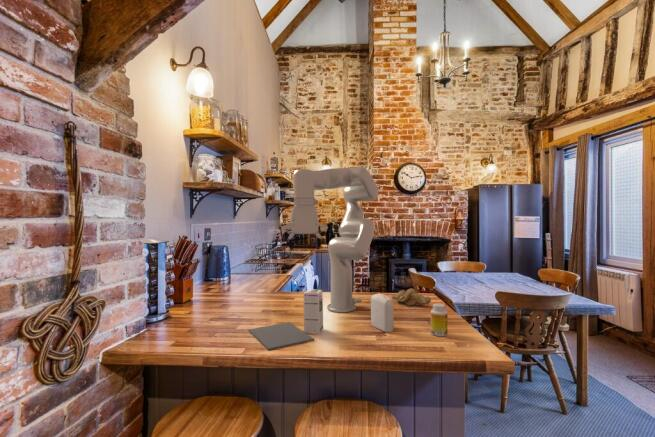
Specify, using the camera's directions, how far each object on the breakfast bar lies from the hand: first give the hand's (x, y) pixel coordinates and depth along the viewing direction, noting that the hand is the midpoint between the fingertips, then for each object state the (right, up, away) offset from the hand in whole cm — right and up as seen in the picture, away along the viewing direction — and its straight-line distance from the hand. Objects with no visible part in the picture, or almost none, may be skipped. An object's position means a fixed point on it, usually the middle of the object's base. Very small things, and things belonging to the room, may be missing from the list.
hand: (305, 249), depth 127 cm
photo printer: (+28, -29, -2) cm, 41 cm away
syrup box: (+3, -29, -5) cm, 30 cm away
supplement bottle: (+47, -29, -8) cm, 56 cm away
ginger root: (+47, -29, +32) cm, 63 cm away
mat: (-8, -29, -9) cm, 31 cm away
